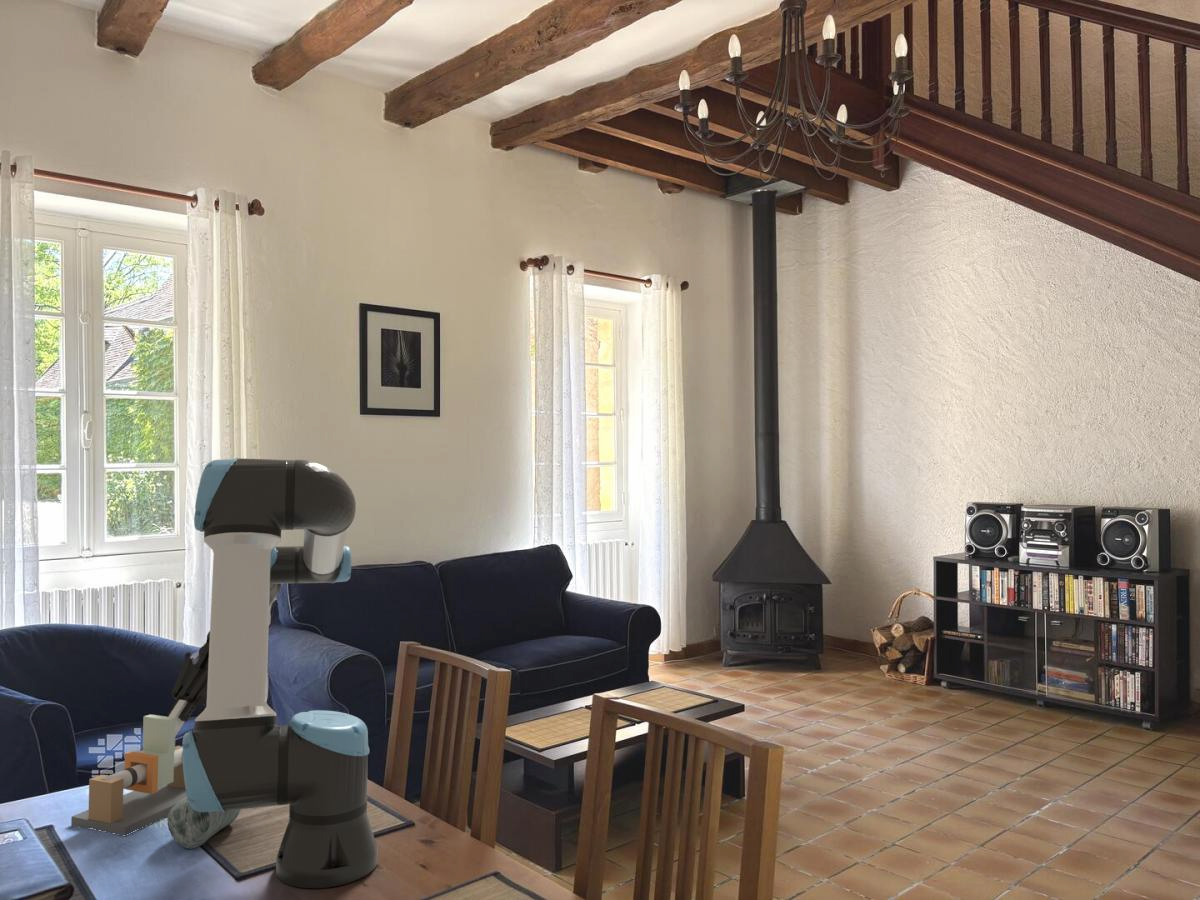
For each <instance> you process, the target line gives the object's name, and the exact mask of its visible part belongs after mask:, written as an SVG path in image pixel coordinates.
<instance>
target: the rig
mask: <svg viewBox="0 0 1200 900" xmlns="http://www.w3.org/2000/svg"><path fill="white" fill-rule="evenodd" d="M182 752H183V745H182V746H181V745H175V751H174V776H173V782H172V783H169V784H167V785H164V786H162V787H160V788H158V790H157V792H156V793H153V794H149V793H143V792H138V791H132V790H131V791H130V792H128V793H126V794H124V790H125V789H124V788H128V787H131V786H133V785H135V784H137V783H139V782H141V781H144V780H146V779H147V764H143V763H141V764H138V765H136V766H133V767H129V768H126V769H125V768H124V769H122V770H120V771H117V772H114V773H113V774H112V773H111V774H110V775H106V774H99V775H97V776H94V777H91V778H89V780H88V809H87V810H85V811H82V812H80V813H77V814H75V815H73V816H71V823H70V824H71V826H72V827H76V828H83V829H86V828H93V829H96V830H101V831H106V832H110V833H109V834H111V833H115V834H114V835H116V834H119V835H118V836H121V835H127V834H129V833H131V832H133V831H135V830H137V829H139V830H141V829H140V828H142V827H144V828H145V826H146V825H148V826H149V824H150V825H152V824H155V823H156V821H157V822H158V820H159V821H161V820H162V818H163V819H165V818H168V814H169V812H170V810H171V809H172V807H173V806H175V805H176V804H177V803H178V802H179V801H180V800H181V799H182V798H184V797H185V796H186V795H187V794H186V789H185V782H184V773H183V758H182ZM160 819H161V820H160ZM151 823H152V824H151ZM146 827H147V826H146ZM142 829H143V828H142ZM96 830H95V831H96ZM101 831H100V832H101ZM137 831H138V830H137ZM106 832H105V833H106ZM135 832H136V831H135ZM133 833H134V832H133ZM131 834H132V833H131ZM129 835H130V834H129ZM127 836H128V835H127Z"/></svg>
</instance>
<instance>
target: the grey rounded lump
mask: <svg viewBox="0 0 1200 900" xmlns="http://www.w3.org/2000/svg"><path fill="white" fill-rule="evenodd" d="M240 812H241V809H239V810H229V811H226V812H221V811H216V812H197V811H195V810H194V809H192V807H191V806H190V804H189V802H188V799H187V795H186V796H185V797H184V798H182V799H181V800H180V801H179V802H178V803H177V804H176V805H175V806H173V807H172V809H171V810H170V812H169V814H168V816H167V817H166V818H167V827H168V830H169V833H170V835H171V837H172V839H174V840H175V842H176V843H178V845H179V846H181V847H183V848H185V849H190V850H191V849H195V848H197V847H201V846H202V845H204V844H205V843H207V841H208V840H209V839H210V838H212V837H213V836H215V835H216V834H217V833H218V832H219V831H221V830H222V829H225V828H226V827H227V826H229V825H230V824H232V823H233V822H234V821H235V820H236V819H237V818H238V816H239V814H240Z"/></svg>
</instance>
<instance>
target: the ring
mask: <svg viewBox="0 0 1200 900" xmlns="http://www.w3.org/2000/svg"><path fill="white" fill-rule="evenodd" d="M136 762H137V763H143V764H147V782H139V783H137V784H135V785H133V786H131V787H128V788H124V789H123V790H126V791H127V790H128V791H131V792H132V791H138V792H143V793H149V794H153V793H156V792H157V790H158V756H157V755H151V754H145V753H139V752H138V751H132V750H129V751H128V752H125V753H124V769H126V768H129V767H133V766H136Z"/></svg>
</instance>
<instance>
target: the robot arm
mask: <svg viewBox="0 0 1200 900" xmlns="http://www.w3.org/2000/svg"><path fill="white" fill-rule="evenodd" d="M199 479H200V480H199V484H198V487H197V493H196V498H195V506H194V517H193V523H194V528H195V530H196V531H199V532H200V533H202V532H203V542H204V543H205V544H206V545H207V546H208V547H209V548H210V549H211V550H212V552H213V560H212V580H211V583H212V584H211V603H210V604H211V605H210V623H209V625H210V626H209V631H208V633H207V635H206V642H205V643H204V644H203V645H202V646H201V647H200V648H199V649H198V651H196V652H194V653H191V652H190V651H189V652H186V653H185V654H184V663H183V664H182V667H181V669H180V671H179V674H178V676H177V678H176V681H175V683H174V685H173V689H172V691H171V693H170V695H171V696H172V697H173V698H174V699H175V702H174V703H173V705H172V706H171V709H170V710H169V712H168V714H167V717H172V718H176V723H175V737H176V736H177V734H178V733H179V732H180V730H181V729H182V727H183V725H184V723H187V722H188V721H189V719H190V717H191V716H192V714H193V713H194V711H195V710H196V708H198V707H199V706H202V705H203V706H205V708H204V710H203V711H201V712H200V714H199V715H198V716H197V717H196V718H194V730H189V731H188V732H186V733H185V734H183V737H182V746H183V752H182V758H183V773H184V782H185V789H186V794H187V799H188V802H189V804H190V806H191V807H192V809H194V810H195V811H197V812H216V811H221V812H226V811H229V810H239V809H240V810H247V809H248V810H249V809H256V808H266V807H275V806H286V805H289V811H288V812H289V813H288V814H289V815H288V822H287V826H286V828H285V831H284V834H283V837H282V840H281V842H280V846H279V849H278V851H277V854H276V858H275V859H276V861H275V863H276V864H275V874H276V877H277V878H278V880H279V881H281V882H282V883H284V884H286V885H289V886H292V887H295V888H296V887H297V888H303V889H324V888H332V887H333V888H334V887H339V886H342V885H343V886H344V885H346V884H350V883H353V882H356V881H358V880H360V879H362V878H364V877H365V876H367V875H369V874H370V873H371V872H372V871H374V869H375V868H376V866H377V865H378V858H379V857H378V856H379V855H378V853H379V852H378V849H379V848H378V843H377V841H376V839H375V836H374V832H373V828H372V825H371V822H370V819H369V815H368V755H369V754H370V747H369V737H368V735H369V732H368V731H369V730H368V726H367V725H366V723H365V722H364V721H363V720H362V719H361V718H359V717H357V716H355V715H352V714H349V713H345V712H340V711H336V710H335V711H333V710H324V709H323V710H317V709H316V710H308V711H300V712H298V713H296V714H294V715H293V716H292V717H291V720H289V724H286V725H277V713H276V711H274V709H272V708H271V707H270V706H269V705H268V703H267V701H268V700H267V699H268V698H267V696H268V695H267V694H268V664H269V662H268V659H269V631H270V630H269V628H270V627H269V625H270V607H271V606H272V603H273V602H274V600H275V599H276V597H277V596H278V594H279V593H280V592H281V591H282V587H283V585H284V584H319V583H320V584H322V583H323V584H324V583H325V584H327V583H328V584H336V583H342V582H348V581H349V580H350V579H351V574H352V550H351V548H350V547H349V546H348V545H345V543H346V534H347V530H348V529H349V528H350V526H351V525H352V523H353V521H354V518H355V516H356V508H357V507H356V505H357V502H356V499H355V494H354V493H353V492H354V491H353V490H352V489H351V487H350V485H349V484H348V483H347V481H345V480H344V478H343V477H341V476H340V475H339V474H338V473H336V472H335V471H333V469H331V468H329V467H327V466H325V465H324V464H320V463H319V462H318V463H317V462H315V461H311V460H306V459H271V458H270V459H269V458H268V459H267V458H242V457H241V458H239V457H235V458H233V459H232V458H230V459H229V458H228V459H214V460H211V461H210V462H208V463H207V464H206V465H205V467H204V468H203V471H202V473H201V476H200V478H199ZM285 530H286V531H289V530H291V531H293V530H303V546H301V545H299V546H296V545H295V546H277V545H279V544H280V542H281V541H282V531H285Z"/></svg>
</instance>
